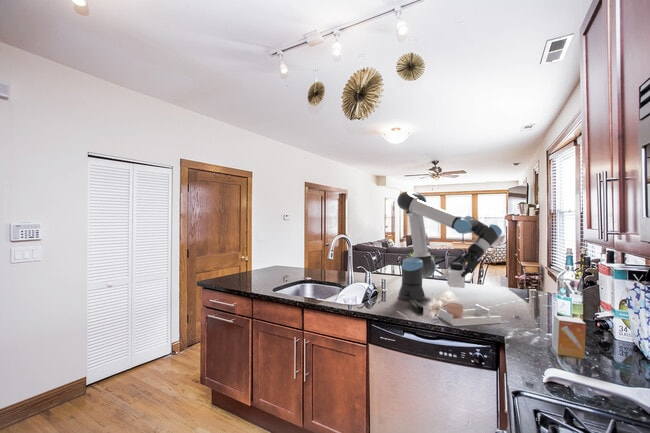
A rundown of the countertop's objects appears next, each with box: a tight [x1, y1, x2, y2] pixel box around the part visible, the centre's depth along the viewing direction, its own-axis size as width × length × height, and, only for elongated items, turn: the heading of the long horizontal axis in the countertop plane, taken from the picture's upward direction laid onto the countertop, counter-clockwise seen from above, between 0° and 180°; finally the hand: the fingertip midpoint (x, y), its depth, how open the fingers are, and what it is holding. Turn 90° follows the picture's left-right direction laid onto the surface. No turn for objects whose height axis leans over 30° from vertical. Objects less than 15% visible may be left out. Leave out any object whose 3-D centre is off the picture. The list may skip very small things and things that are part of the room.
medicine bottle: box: [446, 263, 466, 289], centre depth 160 cm, size 7×7×12 cm
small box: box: [551, 314, 587, 360], centre depth 113 cm, size 8×6×13 cm
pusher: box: [474, 303, 491, 317], centre depth 147 cm, size 8×4×5 cm, turn 13°
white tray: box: [436, 308, 504, 327], centre depth 145 cm, size 14×26×5 cm, turn 103°
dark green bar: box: [407, 299, 424, 315], centre depth 158 cm, size 5×3×15 cm
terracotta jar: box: [446, 302, 464, 319], centre depth 143 cm, size 7×7×7 cm
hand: (450, 278), depth 159 cm, fingers closed on medicine bottle, 9 cm apart
